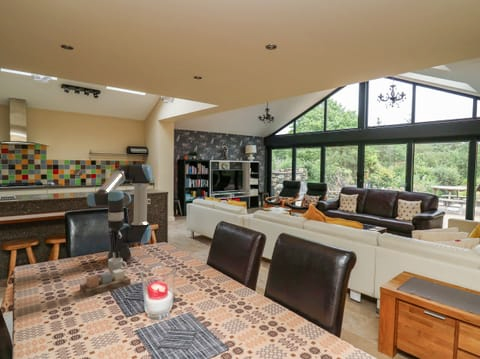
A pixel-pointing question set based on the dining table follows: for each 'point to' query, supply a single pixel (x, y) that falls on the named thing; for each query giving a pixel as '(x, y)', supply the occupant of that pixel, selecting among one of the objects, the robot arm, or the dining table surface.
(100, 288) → the key block
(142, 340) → the dining table surface
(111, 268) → the cup
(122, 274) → the cream key
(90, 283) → the terracotta key
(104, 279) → the slate key
